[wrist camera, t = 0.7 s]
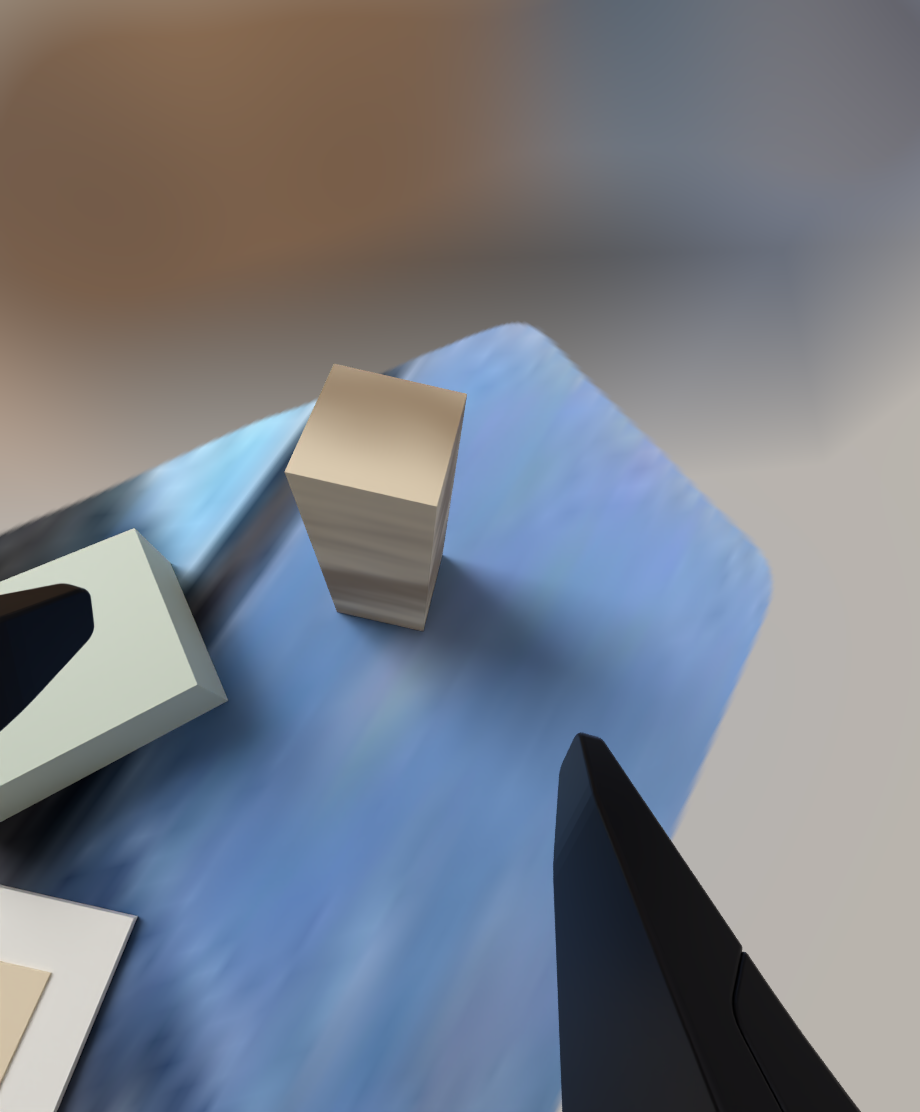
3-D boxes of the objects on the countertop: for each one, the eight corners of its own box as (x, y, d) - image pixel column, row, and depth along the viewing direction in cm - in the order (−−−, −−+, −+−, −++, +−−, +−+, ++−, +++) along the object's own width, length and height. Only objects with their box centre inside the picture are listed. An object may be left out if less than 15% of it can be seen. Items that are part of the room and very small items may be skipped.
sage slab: (-16, 833, 20) (-110, 842, 16) (-52, 663, 22) (-140, 638, 19) (230, 701, 23) (197, 684, 19) (173, 565, 25) (134, 528, 22)
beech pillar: (423, 631, 25) (436, 506, 14) (337, 611, 25) (284, 471, 14) (442, 554, 27) (466, 394, 16) (362, 536, 27) (333, 363, 16)
